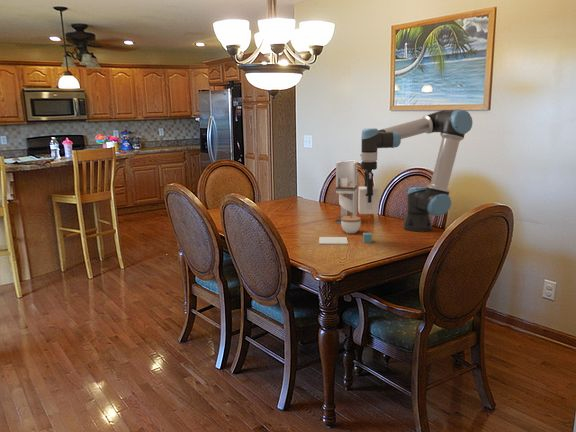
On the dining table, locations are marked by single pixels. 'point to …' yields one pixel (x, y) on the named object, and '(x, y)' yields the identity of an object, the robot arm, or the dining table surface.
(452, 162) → the robot arm
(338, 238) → the mat
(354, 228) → the lidded jar
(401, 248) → the dining table surface
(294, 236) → the dining table surface
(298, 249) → the dining table surface
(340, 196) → the display case
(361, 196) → the white block
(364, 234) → the teal block
